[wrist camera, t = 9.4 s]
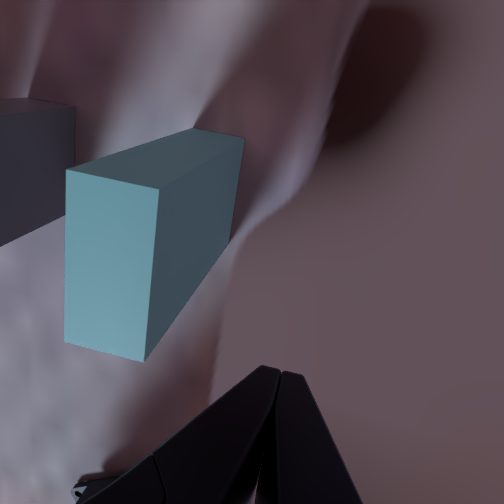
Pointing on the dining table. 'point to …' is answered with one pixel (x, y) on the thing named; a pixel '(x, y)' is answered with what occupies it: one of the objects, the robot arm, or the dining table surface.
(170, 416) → the dining table surface
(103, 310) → the domino
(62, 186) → the domino
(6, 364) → the dining table surface
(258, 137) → the dining table surface
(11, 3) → the dining table surface
